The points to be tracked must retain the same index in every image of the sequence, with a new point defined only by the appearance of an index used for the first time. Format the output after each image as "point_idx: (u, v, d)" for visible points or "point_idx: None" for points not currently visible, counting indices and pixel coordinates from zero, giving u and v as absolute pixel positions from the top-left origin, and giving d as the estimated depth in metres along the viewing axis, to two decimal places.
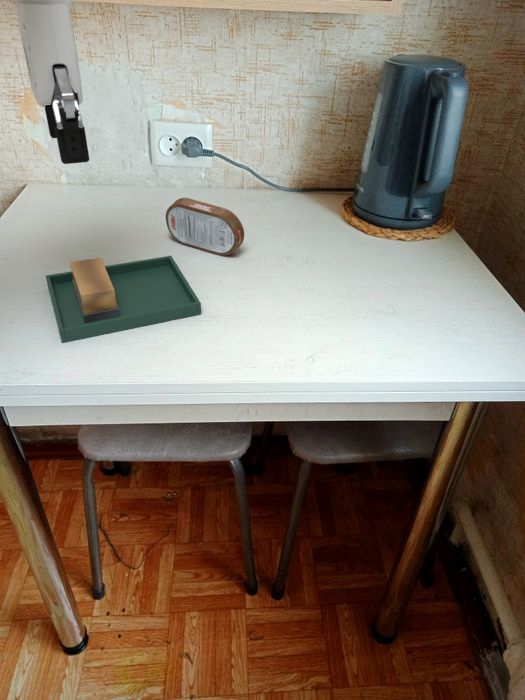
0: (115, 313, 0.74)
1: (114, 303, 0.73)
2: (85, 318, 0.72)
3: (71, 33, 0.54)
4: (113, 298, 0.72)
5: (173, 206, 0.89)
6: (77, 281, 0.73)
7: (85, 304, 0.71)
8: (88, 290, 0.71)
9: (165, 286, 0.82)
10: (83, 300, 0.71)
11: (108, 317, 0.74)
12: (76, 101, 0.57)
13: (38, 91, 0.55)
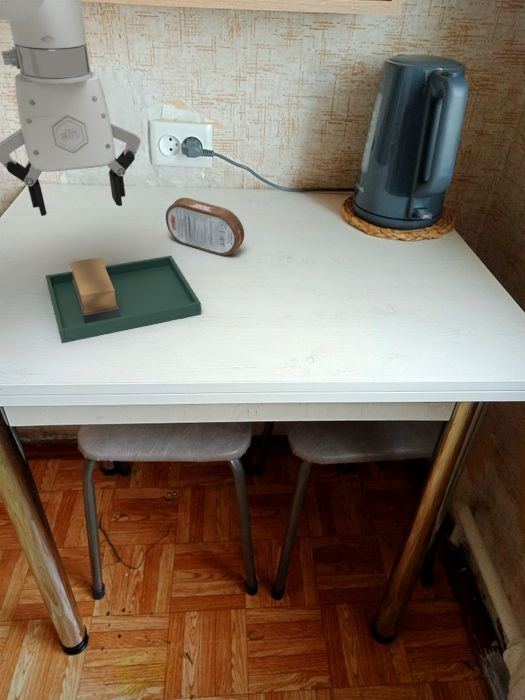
0: (115, 313, 0.74)
1: (114, 303, 0.73)
2: (85, 318, 0.72)
3: None
4: (113, 298, 0.72)
5: (173, 206, 0.89)
6: (77, 281, 0.73)
7: (85, 304, 0.71)
8: (88, 290, 0.71)
9: (165, 286, 0.82)
10: (83, 300, 0.71)
11: (108, 317, 0.74)
12: None
13: (112, 150, 0.63)
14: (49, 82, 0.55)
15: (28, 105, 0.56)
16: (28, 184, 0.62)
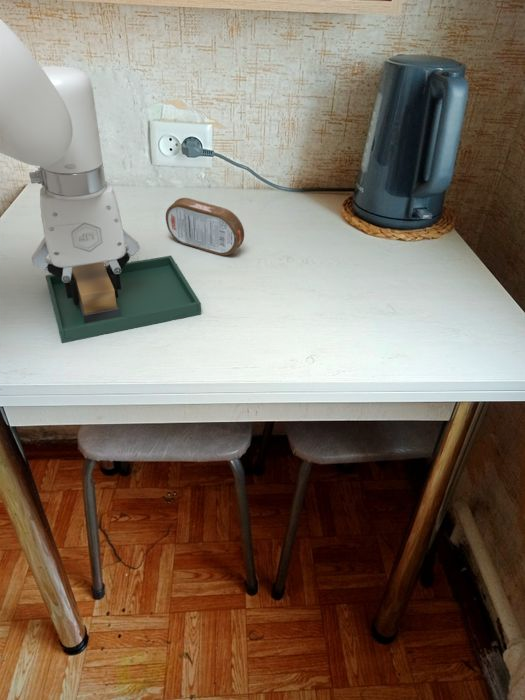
0: (115, 313, 0.74)
1: (114, 303, 0.73)
2: (85, 318, 0.72)
3: None
4: (113, 298, 0.72)
5: (173, 206, 0.89)
6: (77, 281, 0.73)
7: (85, 304, 0.71)
8: (88, 290, 0.71)
9: (165, 286, 0.82)
10: (83, 300, 0.71)
11: (108, 317, 0.74)
12: None
13: (123, 246, 0.71)
14: (70, 199, 0.63)
15: (51, 216, 0.64)
16: (66, 281, 0.72)
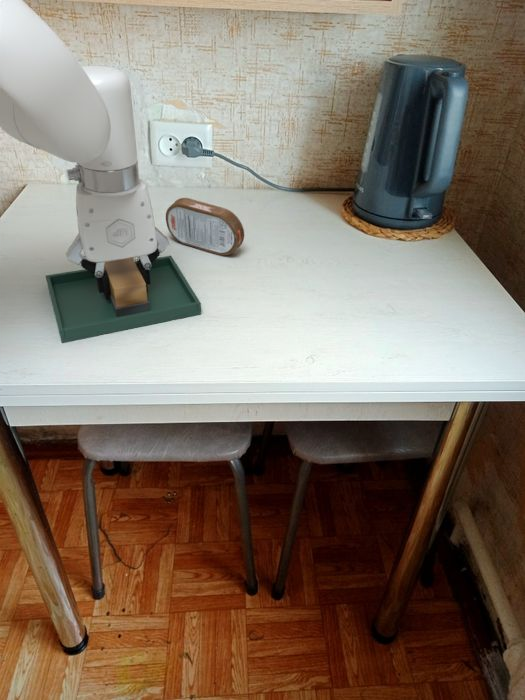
0: (146, 307, 0.76)
1: (145, 297, 0.75)
2: (117, 312, 0.74)
3: None
4: (144, 292, 0.74)
5: (173, 206, 0.89)
6: (109, 275, 0.74)
7: (117, 298, 0.73)
8: (120, 284, 0.73)
9: (165, 286, 0.82)
10: (116, 294, 0.72)
11: (139, 311, 0.75)
12: None
13: (155, 242, 0.72)
14: (106, 195, 0.65)
15: (87, 212, 0.66)
16: (99, 276, 0.73)
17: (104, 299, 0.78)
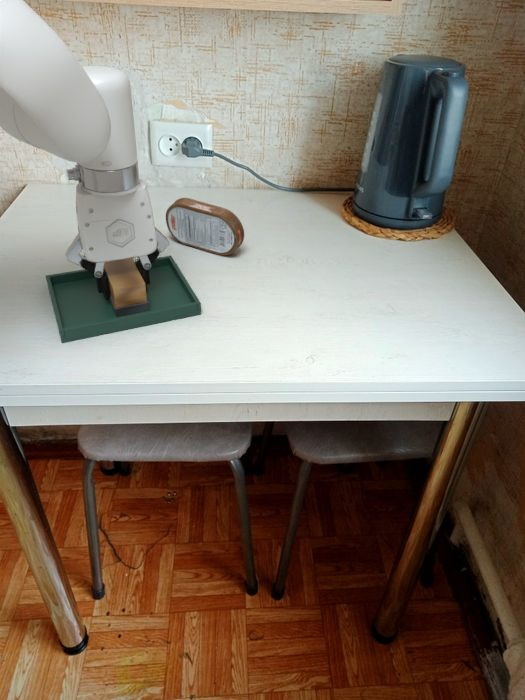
0: (145, 307, 0.75)
1: (144, 297, 0.75)
2: (116, 312, 0.74)
3: None
4: (143, 293, 0.74)
5: (173, 206, 0.89)
6: (108, 276, 0.74)
7: (117, 298, 0.73)
8: (120, 284, 0.73)
9: (165, 286, 0.82)
10: (115, 294, 0.72)
11: (138, 311, 0.75)
12: None
13: (155, 242, 0.72)
14: (106, 195, 0.65)
15: (87, 212, 0.66)
16: (98, 276, 0.73)
17: (104, 299, 0.78)
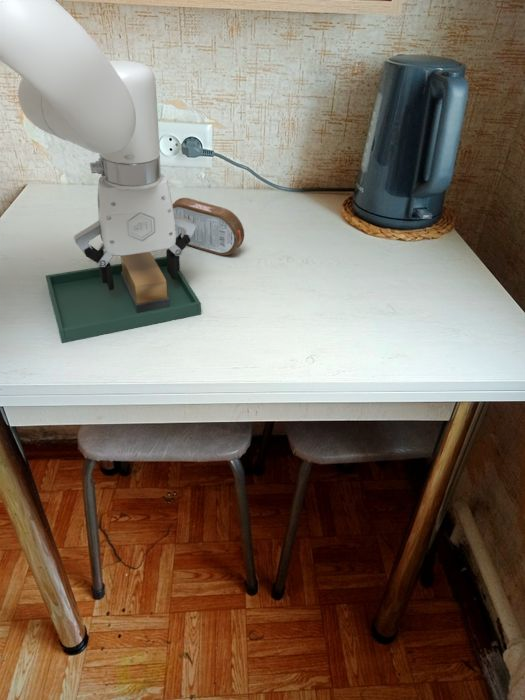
0: (166, 303, 0.77)
1: (165, 293, 0.76)
2: (138, 308, 0.75)
3: None
4: (164, 289, 0.75)
5: (173, 206, 0.89)
6: (130, 272, 0.75)
7: (138, 294, 0.74)
8: (141, 280, 0.74)
9: None
10: (137, 290, 0.73)
11: (159, 307, 0.76)
12: None
13: (174, 236, 0.73)
14: (129, 188, 0.65)
15: (109, 205, 0.66)
16: (101, 265, 0.72)
17: (104, 299, 0.78)
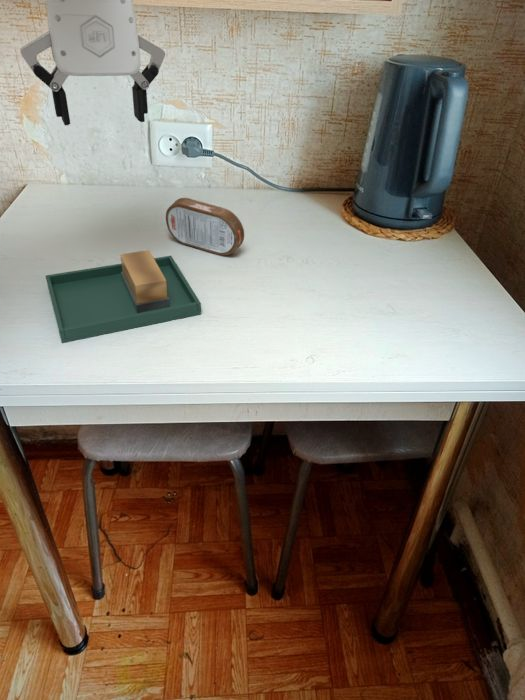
0: (166, 303, 0.77)
1: (165, 293, 0.76)
2: (138, 308, 0.75)
3: None
4: (164, 289, 0.75)
5: (173, 206, 0.89)
6: (130, 272, 0.75)
7: (138, 294, 0.74)
8: (141, 280, 0.74)
9: None
10: (137, 290, 0.73)
11: (159, 307, 0.76)
12: None
13: (138, 58, 0.63)
14: None
15: (58, 1, 0.57)
16: (53, 89, 0.63)
17: (104, 299, 0.78)
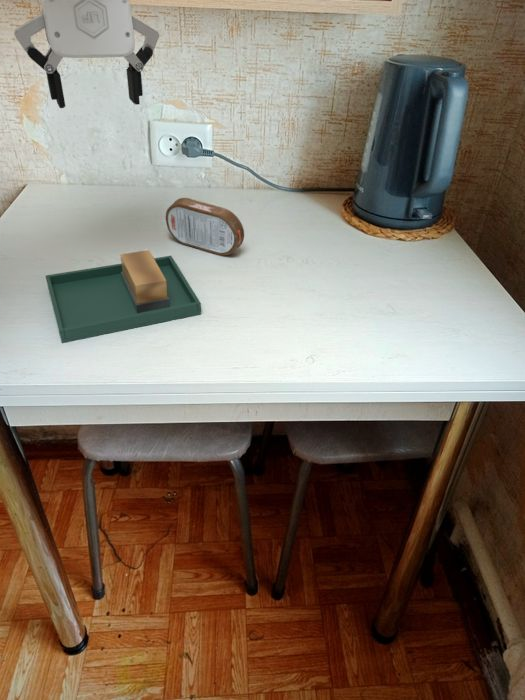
0: (166, 303, 0.77)
1: (165, 293, 0.76)
2: (138, 308, 0.75)
3: None
4: (164, 289, 0.75)
5: (173, 206, 0.89)
6: (130, 272, 0.75)
7: (138, 294, 0.74)
8: (141, 280, 0.74)
9: None
10: (137, 290, 0.73)
11: (159, 307, 0.76)
12: None
13: (132, 39, 0.63)
14: None
15: None
16: (48, 71, 0.63)
17: (104, 299, 0.78)
